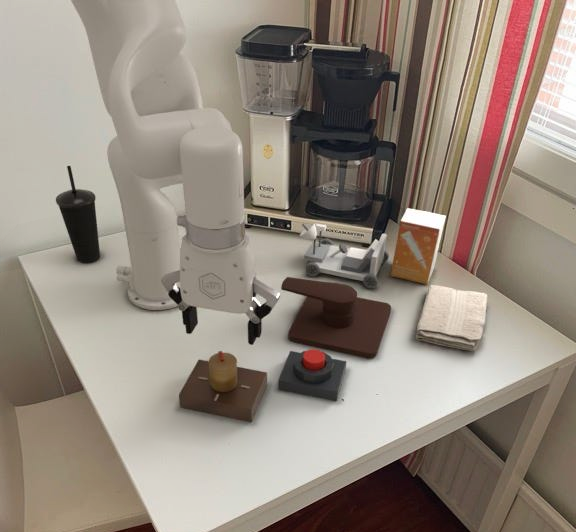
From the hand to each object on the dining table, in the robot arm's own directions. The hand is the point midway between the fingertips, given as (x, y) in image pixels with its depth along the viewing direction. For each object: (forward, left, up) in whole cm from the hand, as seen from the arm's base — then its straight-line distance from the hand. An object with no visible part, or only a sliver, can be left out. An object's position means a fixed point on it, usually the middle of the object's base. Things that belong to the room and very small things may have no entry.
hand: (222, 333), depth 91 cm
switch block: (+13, +8, -13) cm, 20 cm away
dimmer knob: (0, 0, -10) cm, 10 cm away
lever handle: (+13, +25, -13) cm, 31 cm away
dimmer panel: (0, 0, -13) cm, 13 cm away
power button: (+13, +8, -10) cm, 18 cm away
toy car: (+11, +45, -13) cm, 48 cm away
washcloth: (+35, +32, -13) cm, 49 cm away
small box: (+26, +47, -13) cm, 55 cm away
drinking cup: (-42, +33, -13) cm, 55 cm away
